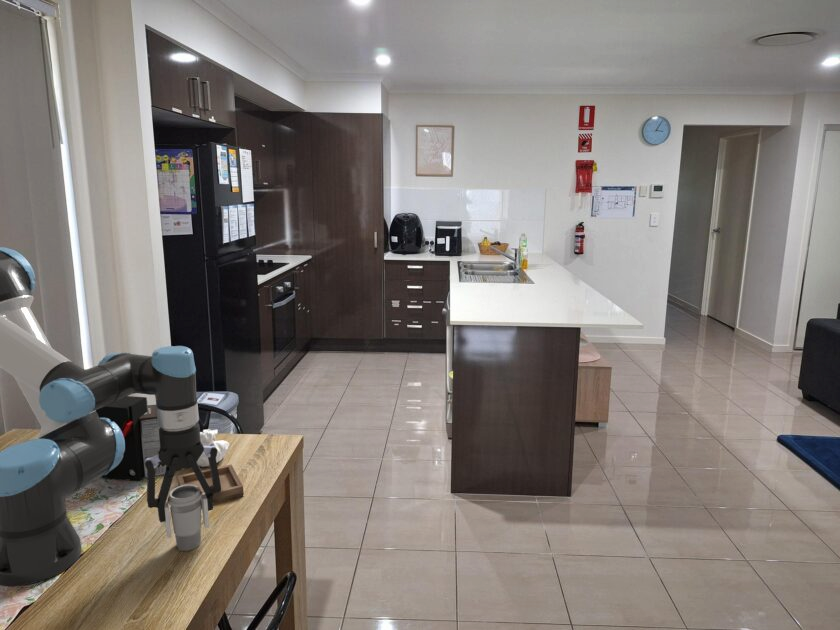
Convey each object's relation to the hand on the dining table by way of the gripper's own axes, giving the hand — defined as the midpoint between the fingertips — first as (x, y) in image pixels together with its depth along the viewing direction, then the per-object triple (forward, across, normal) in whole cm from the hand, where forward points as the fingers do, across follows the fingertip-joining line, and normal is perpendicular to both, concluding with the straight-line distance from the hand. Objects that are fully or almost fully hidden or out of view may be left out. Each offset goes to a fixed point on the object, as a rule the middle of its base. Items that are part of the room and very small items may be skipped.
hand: (187, 529), depth 123 cm
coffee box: (+4, -2, +40) cm, 40 cm away
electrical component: (+4, -12, +42) cm, 44 cm away
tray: (+3, +8, +21) cm, 23 cm away
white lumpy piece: (+4, +10, +36) cm, 38 cm away
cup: (+4, 0, 0) cm, 4 cm away
